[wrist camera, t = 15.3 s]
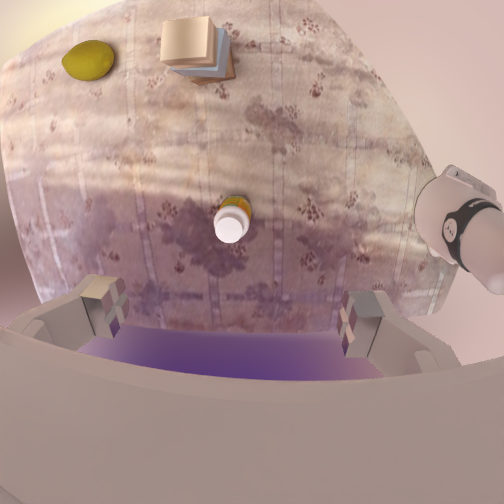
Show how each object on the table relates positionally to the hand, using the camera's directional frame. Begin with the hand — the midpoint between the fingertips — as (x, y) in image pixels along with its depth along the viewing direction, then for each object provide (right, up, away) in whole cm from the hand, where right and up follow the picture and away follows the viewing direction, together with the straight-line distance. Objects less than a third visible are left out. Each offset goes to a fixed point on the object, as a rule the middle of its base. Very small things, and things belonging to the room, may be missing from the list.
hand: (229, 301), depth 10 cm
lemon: (-27, +37, +28) cm, 53 cm away
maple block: (-6, +26, +18) cm, 32 cm away
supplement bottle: (-2, +9, +39) cm, 41 cm away
